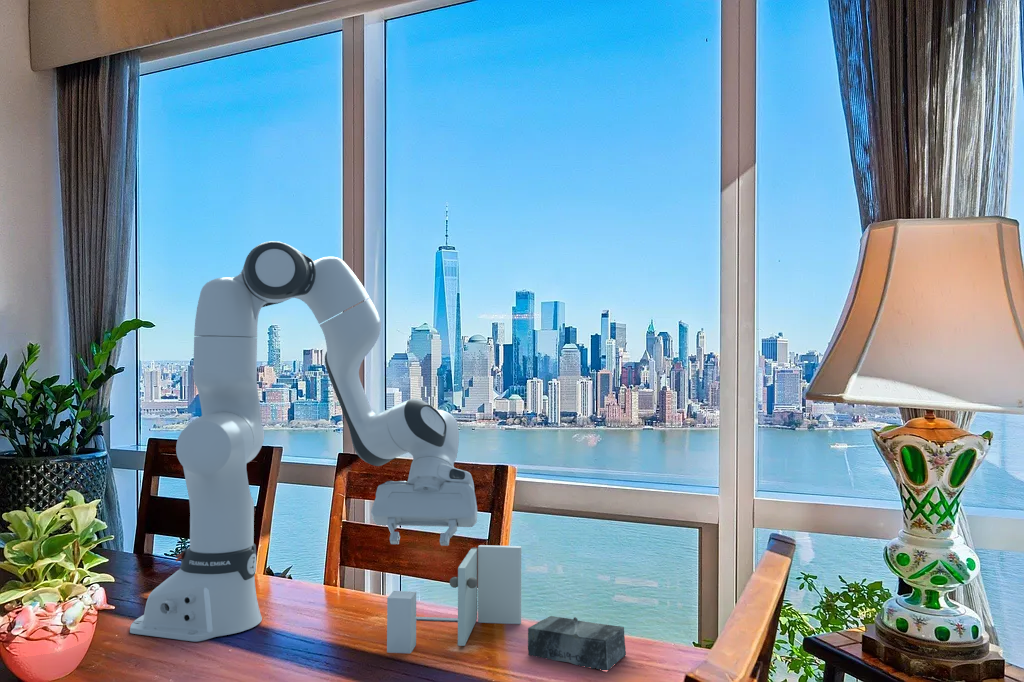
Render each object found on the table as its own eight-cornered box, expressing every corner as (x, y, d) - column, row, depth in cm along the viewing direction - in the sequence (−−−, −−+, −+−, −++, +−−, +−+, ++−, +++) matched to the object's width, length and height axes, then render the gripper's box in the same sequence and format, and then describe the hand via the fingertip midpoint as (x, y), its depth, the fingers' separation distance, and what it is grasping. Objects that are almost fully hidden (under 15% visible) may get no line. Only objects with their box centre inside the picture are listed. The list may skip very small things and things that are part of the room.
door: (475, 646, 130) (475, 568, 130) (447, 645, 130) (447, 567, 131) (487, 617, 144) (487, 548, 145) (461, 617, 145) (462, 547, 145)
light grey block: (386, 652, 129) (387, 597, 129) (393, 643, 132) (393, 590, 133) (410, 653, 128) (410, 598, 128) (416, 644, 132) (416, 591, 132)
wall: (398, 619, 145) (399, 544, 145) (400, 617, 146) (400, 542, 147) (520, 624, 143) (520, 547, 143) (521, 621, 144) (521, 546, 144)
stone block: (553, 640, 135) (553, 610, 136) (629, 656, 128) (629, 624, 128) (527, 656, 128) (527, 624, 128) (607, 674, 120) (607, 640, 120)
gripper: (375, 471, 152) (360, 532, 142) (478, 473, 150) (470, 535, 140) (382, 490, 156) (367, 550, 146) (482, 492, 154) (474, 553, 144)
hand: (418, 543), depth 143 cm, fingers open, 8 cm apart
